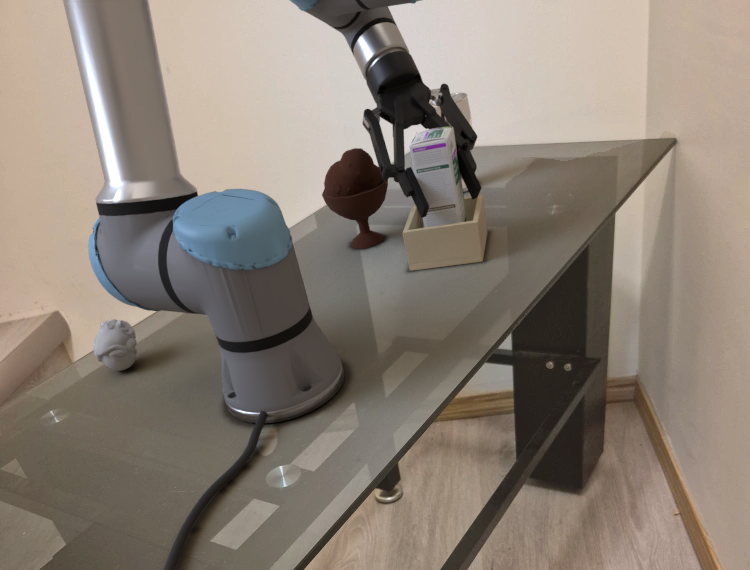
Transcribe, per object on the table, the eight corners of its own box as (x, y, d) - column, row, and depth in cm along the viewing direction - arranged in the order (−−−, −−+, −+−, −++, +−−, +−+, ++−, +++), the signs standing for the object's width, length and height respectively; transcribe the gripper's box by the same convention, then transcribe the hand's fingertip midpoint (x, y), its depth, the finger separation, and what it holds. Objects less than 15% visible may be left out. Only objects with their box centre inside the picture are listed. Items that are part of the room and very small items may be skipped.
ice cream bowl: (400, 224, 128) (382, 132, 119) (395, 249, 120) (376, 153, 110) (341, 234, 130) (319, 145, 121) (332, 260, 122) (308, 166, 112)
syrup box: (464, 239, 110) (450, 136, 101) (425, 244, 112) (408, 143, 103) (468, 224, 114) (455, 124, 105) (430, 229, 116) (414, 131, 107)
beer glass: (434, 190, 138) (421, 102, 128) (466, 177, 139) (455, 90, 130) (453, 197, 132) (440, 107, 123) (486, 184, 134) (476, 94, 124)
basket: (482, 261, 109) (477, 221, 105) (409, 271, 112) (402, 232, 108) (487, 232, 117) (483, 193, 113) (419, 241, 120) (412, 204, 116)
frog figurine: (155, 354, 109) (136, 311, 104) (129, 380, 104) (107, 336, 100) (123, 354, 111) (102, 312, 107) (96, 380, 106) (73, 337, 102)
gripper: (445, 66, 114) (506, 194, 112) (323, 106, 111) (384, 239, 109) (455, 28, 107) (521, 165, 105) (325, 70, 104) (390, 212, 102)
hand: (451, 202), depth 107 cm, fingers closed on syrup box, 8 cm apart
